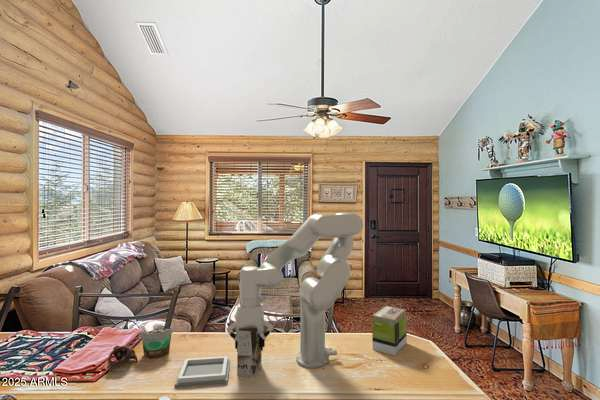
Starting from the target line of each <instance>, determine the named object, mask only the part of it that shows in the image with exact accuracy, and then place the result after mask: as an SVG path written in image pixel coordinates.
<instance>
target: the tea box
mask: <svg viewBox="0 0 600 400" xmlns="http://www.w3.org/2000/svg"><path fill="white" fill-rule="evenodd" d="M371 319H372V321H371V323H372V325H371V327H372V329H371V330H372V332H371V333H372V335H371V337H372V339H371V340H372V341H371V342H372V350H374V351H377V352H381V353H383V354H386V355H387V354H388V355H390V356H396V355H397V354H398V353H399V352H400V350H402V349H403V347H404V346H405V345H406V344H407V342H408V341H407V339H408V338H407V337H408V336H407V335H408V334H407V309H402V308H398V307H392V306H387V305H385V306H383V307H382V308H380V309H379V310H377V311H376V312H375V313H374V314H372V317H371Z"/></svg>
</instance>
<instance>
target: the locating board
mask: <svg viewBox="0 0 600 400" xmlns="http://www.w3.org/2000/svg"><path fill="white" fill-rule="evenodd" d="M230 366H231V358H228V355H223V356H211V357H210V356H209V357H208V356H207V357H195V358H185V359H184V361H183V362H182V364H181V367H180V370H179V373H178V375H177V377H176V380H175V382H174V387H173V388H175V389H176V388H186V387H200V386H212V385H213V386H215V385H224V384H226V383H227V384H228V380H229V374H230V373H229V372H230ZM214 384H215V385H214Z"/></svg>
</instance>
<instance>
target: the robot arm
mask: <svg viewBox="0 0 600 400" xmlns="http://www.w3.org/2000/svg"><path fill="white" fill-rule="evenodd" d="M363 229H364V221H363V219H362V217H361V216H360V215H358V214H357V213H352V212H345V211H344V212H337V213H335V214H321V213H315V214H312V215H310V216H309V217H308V218H307V219H306V220H305V221H304V222H303V223H302V224H301V226H299V228H297V230H296V231H295V232H294V233H293V234H292V235H291V236H290V237H289V238H288V239H287V240H286V241H285V242H283V243H282V244H280V246H279V247H277V248H276V249H275V250H273V251H272V252H271V253H270V254H269V255H268V257H266V259H265V260H264V261H263V262H262V263H261V264H260V266H254V265H253V266H249V265H248V266H244V267H242V268H241V269H240V272H239V273H240V274H239V303H238V304H237V308H236V314H235V315H236V316H235V321H234V322H233V323H231V324H230V325H229V326H228V327H227V328H226V332H227V333H228V335H229V337H231V338H232V339H233V340H234V349H235V350H236V352H237V351H238V329H248V328H257V331H258V333H259V334H260V336H261V342H260V347H261V351H262V352H263V350H264V348H265V347H266V346H265V345H266V344H265V341H266V339H267V337H268V336H269V335H270V333H271V332H272V330H273V329H274V326H273V324H271V323H269V322H268V321H267V320H265V311H264V304H263V303H262V302H266V301H265V297H262V296H261V295H262V288H265V289H266V288H267V289H275V288H278V287H279V286H281V285H282V284H283V282H284V274H283V271H282V269H283V268H284V267H285V266H286V265H287V264H288V263H289V262H291V261H293V260H295V259H298V258H301V257H304V256H305V255H307V253H308V252H309V251H310V250H311V249H312V247H313V246H314V245H315V244H316V243H317V242H318V240H320V239H321V238H323V239H332V241H331V243H330V245H329V247H328V248H327V249H326V251H325V252H324V254H323V256H322V257H321V258H320V260H319V261H318V263H317V265H316V272H317V274H318V275H319V276H320V279H319V278H317V277H314V276H312V277H311V276H310V277H307V278H304V279H303V281H302V282H301V283H300V285H299V289H298V293H299V296H298V297H299V303H300V304H299V306H300V331H299V332H300V338H299V340H300V342H299V344H300V347H299V351H300V352H298V353H297V354H296V358H295V359H296V363H297V364H298V365H300V366H301V367H305V368H307V369H308V368H309V369H311V368H312V369H319V368H322V367H325V366H326V365H328V364H329V361H330V356H338V350H337V349H333V348H332V347H328V348H327V347H326V310H328V309H329V308H331V307H332V306H333V305H334V303H335V302H336V301H337V299H338V297H339V296H340V295H341V293H342V292H343V289H345V286H346V285H347V284H348V281H349V280H350V275H351V267H350V266H349V264H348V262H347V260H348V258H349V257H350V255H351V253H352V251H353V248H354V236H356V235H359V234H360V233H361V232H362V230H363ZM265 327H267V329H266V330H265ZM233 329H235V332H234V331H233Z"/></svg>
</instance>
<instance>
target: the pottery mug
mask: <svg viewBox="0 0 600 400" xmlns="http://www.w3.org/2000/svg"><path fill="white" fill-rule="evenodd" d="M112 357H114V358H115V360H116V361H113V360H112ZM107 360H108V364H107V368H108V371H109V372H112V370H118V369H119V370H120V369H121V368H123V367H125V366H126V365H127V364H131V363H132V361H131V360H135V362H136V363H138V356H137V354H136V351H135V349H133V348H132V347H130V346H129V347H128V346H127V345H121V346H120V345H115V346H114V347H113V348H112V351H111V352H110V353H109V355H108V357H107Z"/></svg>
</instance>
